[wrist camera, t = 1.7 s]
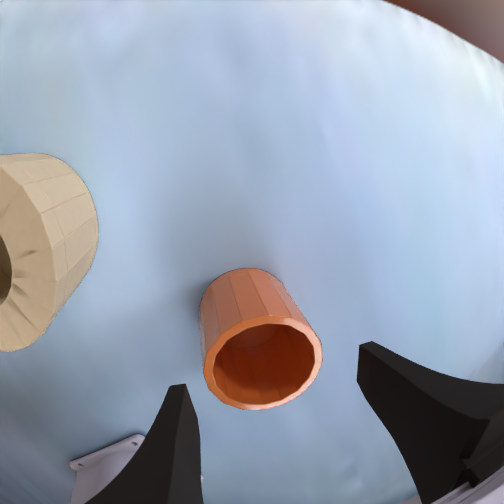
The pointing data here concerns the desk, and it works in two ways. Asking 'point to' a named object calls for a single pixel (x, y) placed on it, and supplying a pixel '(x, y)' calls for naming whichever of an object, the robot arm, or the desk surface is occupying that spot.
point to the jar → (40, 243)
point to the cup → (255, 341)
